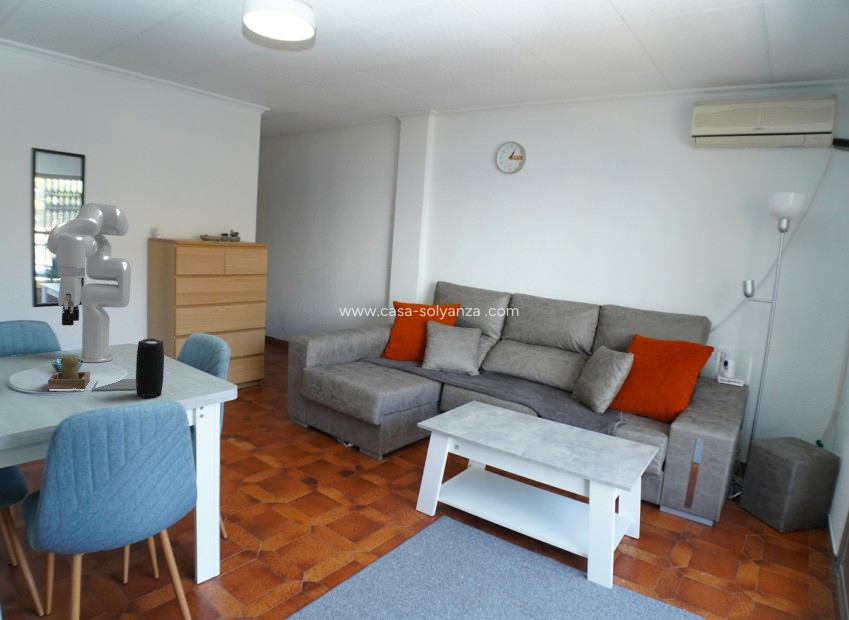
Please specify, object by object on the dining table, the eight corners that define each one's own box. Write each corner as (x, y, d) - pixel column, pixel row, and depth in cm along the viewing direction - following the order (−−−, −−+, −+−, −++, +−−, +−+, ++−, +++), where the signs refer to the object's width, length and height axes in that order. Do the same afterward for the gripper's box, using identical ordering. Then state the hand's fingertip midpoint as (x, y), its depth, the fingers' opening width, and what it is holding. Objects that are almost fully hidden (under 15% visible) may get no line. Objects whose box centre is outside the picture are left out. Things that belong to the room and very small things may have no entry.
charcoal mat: (98, 381, 195) (98, 379, 195) (138, 380, 200) (138, 379, 200) (92, 391, 183) (92, 389, 183) (135, 390, 188) (135, 388, 188)
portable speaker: (136, 400, 178) (138, 343, 176) (134, 392, 186) (135, 338, 184) (164, 398, 183) (166, 342, 180) (161, 390, 190) (162, 337, 188)
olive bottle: (55, 387, 184) (55, 355, 182) (73, 384, 189) (74, 353, 188) (65, 390, 181) (65, 358, 180) (83, 387, 186) (84, 356, 185)
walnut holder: (54, 383, 188) (55, 372, 187) (89, 383, 192) (90, 372, 191) (47, 392, 178) (48, 380, 178) (84, 391, 182) (84, 379, 182)
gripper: (63, 269, 187) (62, 318, 189) (52, 273, 171) (51, 326, 173) (88, 271, 190) (87, 319, 192) (79, 275, 174) (78, 327, 176)
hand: (70, 322), depth 182 cm, fingers open, 9 cm apart
